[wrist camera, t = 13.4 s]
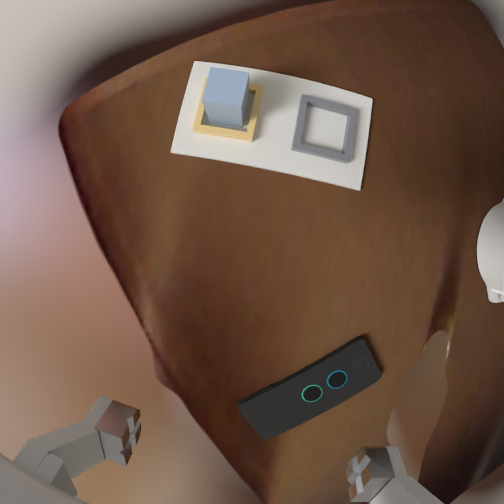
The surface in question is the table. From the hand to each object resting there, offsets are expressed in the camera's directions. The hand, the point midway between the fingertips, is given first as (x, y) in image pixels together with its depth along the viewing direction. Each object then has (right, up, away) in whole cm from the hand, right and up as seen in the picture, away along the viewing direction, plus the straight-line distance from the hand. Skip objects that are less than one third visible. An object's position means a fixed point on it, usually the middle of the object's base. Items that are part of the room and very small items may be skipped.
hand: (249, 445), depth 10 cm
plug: (-3, +24, +27) cm, 36 cm away
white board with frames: (+3, +23, +27) cm, 36 cm away
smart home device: (+8, -13, +33) cm, 36 cm away
